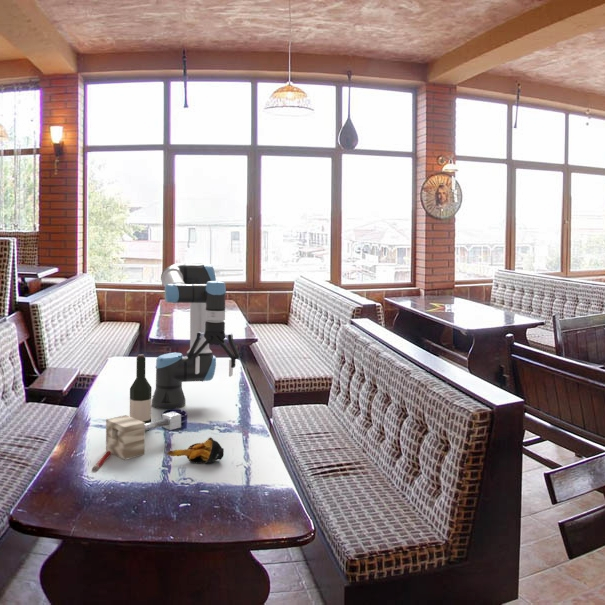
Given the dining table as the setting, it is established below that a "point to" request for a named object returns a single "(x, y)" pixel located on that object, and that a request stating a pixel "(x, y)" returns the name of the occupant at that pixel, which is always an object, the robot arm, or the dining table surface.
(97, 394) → the dining table surface
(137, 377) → the wine bottle
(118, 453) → the eye block
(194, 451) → the fried shrimp in bowl
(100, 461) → the flare
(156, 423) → the pull pin
